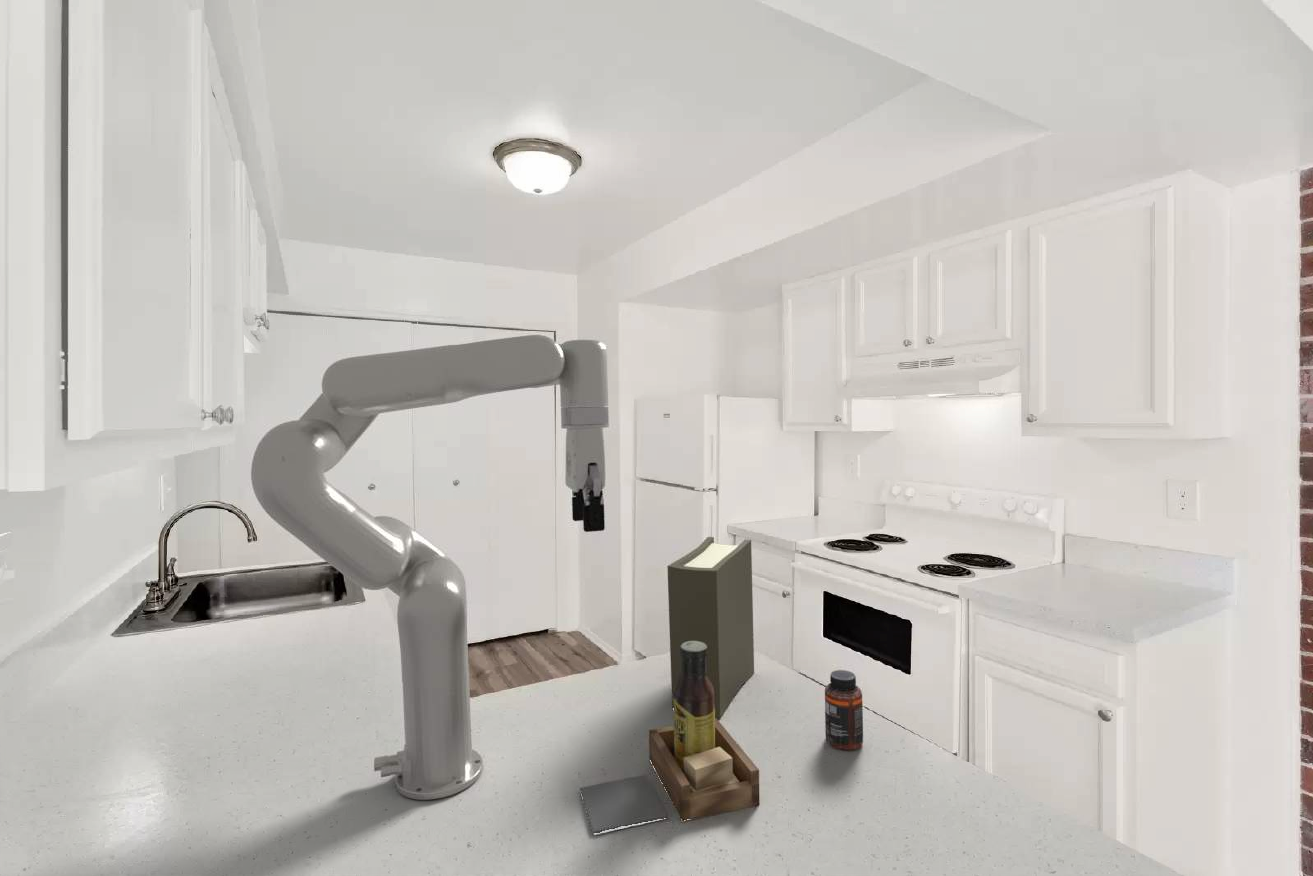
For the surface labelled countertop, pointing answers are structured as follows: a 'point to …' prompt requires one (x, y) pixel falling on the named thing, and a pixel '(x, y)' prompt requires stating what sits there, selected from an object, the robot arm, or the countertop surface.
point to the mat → (621, 803)
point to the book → (714, 615)
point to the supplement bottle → (843, 711)
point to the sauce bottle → (693, 704)
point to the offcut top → (708, 768)
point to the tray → (710, 798)
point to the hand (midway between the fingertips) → (587, 525)
